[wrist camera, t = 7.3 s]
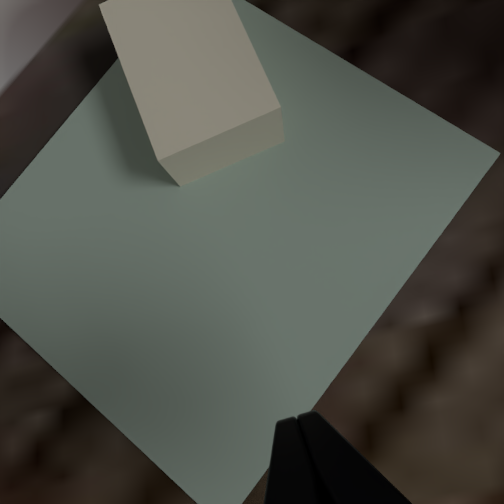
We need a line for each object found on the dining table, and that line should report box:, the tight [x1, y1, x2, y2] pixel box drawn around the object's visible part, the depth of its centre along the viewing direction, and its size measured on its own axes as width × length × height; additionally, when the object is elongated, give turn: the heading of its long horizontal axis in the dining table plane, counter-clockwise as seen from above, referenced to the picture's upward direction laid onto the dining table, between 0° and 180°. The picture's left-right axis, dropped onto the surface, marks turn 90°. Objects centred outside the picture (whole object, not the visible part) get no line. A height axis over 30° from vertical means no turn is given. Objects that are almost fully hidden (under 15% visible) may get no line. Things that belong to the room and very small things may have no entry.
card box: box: [99, 0, 285, 187], centre depth 21 cm, size 4×6×9 cm
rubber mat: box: [0, 0, 500, 504], centre depth 22 cm, size 20×22×1 cm
